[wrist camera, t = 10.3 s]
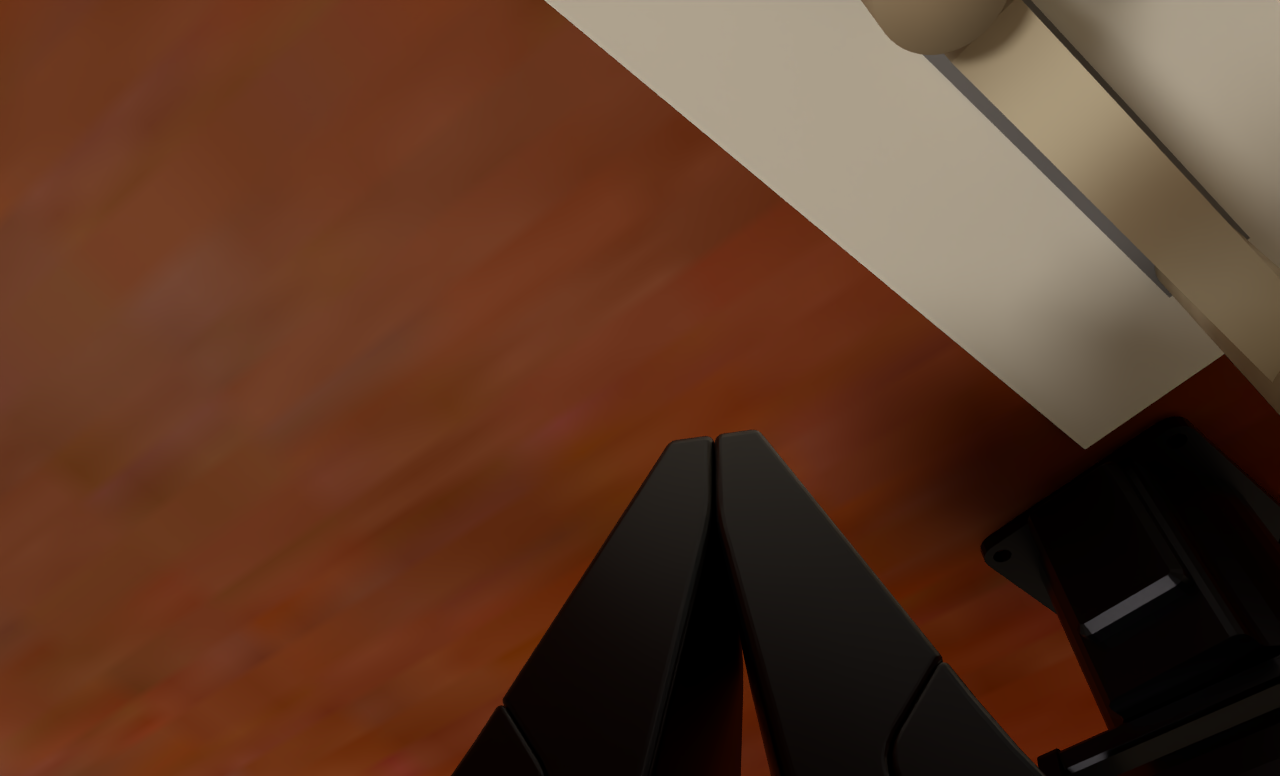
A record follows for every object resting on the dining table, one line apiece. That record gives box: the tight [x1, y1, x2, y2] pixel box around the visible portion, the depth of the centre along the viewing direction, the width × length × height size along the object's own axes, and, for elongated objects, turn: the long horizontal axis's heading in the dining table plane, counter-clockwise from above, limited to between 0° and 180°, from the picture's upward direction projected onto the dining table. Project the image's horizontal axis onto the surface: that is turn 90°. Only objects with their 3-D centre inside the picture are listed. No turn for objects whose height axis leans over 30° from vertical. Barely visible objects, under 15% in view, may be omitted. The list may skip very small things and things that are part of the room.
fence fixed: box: [861, 0, 1280, 415], centre depth 16 cm, size 13×2×6 cm, turn 51°
